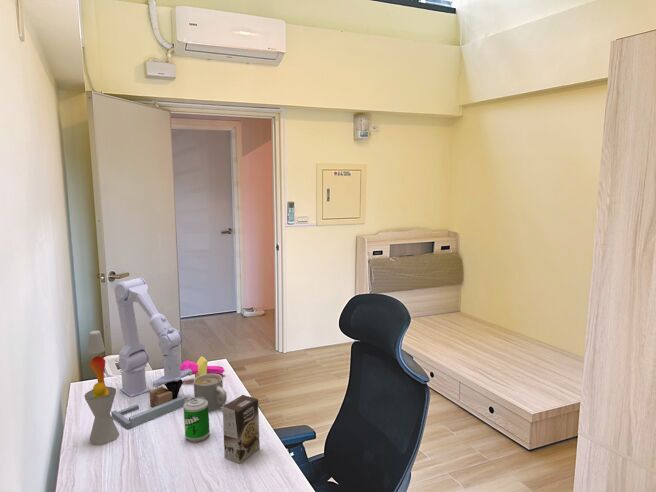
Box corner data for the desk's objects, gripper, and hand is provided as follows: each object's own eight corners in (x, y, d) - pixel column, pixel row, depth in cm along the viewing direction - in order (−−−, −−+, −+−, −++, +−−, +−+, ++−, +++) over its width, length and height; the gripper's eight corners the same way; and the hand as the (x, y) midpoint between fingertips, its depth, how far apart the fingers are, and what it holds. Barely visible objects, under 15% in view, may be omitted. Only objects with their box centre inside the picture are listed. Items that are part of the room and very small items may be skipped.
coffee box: (240, 464, 136) (237, 411, 134) (223, 457, 140) (221, 406, 137) (260, 448, 144) (259, 398, 141) (244, 442, 147) (242, 393, 145)
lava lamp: (90, 433, 154) (80, 329, 148) (120, 427, 157) (111, 325, 151) (87, 447, 145) (76, 338, 140) (119, 441, 148) (109, 334, 143)
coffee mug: (190, 405, 171) (188, 379, 169) (214, 396, 178) (213, 371, 176) (209, 418, 162) (207, 391, 160) (234, 408, 168) (232, 382, 167)
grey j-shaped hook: (111, 417, 163) (111, 409, 163) (167, 395, 179) (167, 388, 178) (127, 429, 155) (126, 420, 155) (184, 406, 171) (184, 398, 170)
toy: (226, 383, 191) (228, 356, 195) (181, 380, 182) (184, 352, 185) (216, 384, 199) (219, 359, 202) (173, 381, 190) (177, 355, 193)
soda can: (202, 427, 156) (200, 393, 154) (214, 436, 151) (212, 401, 149) (180, 436, 151) (178, 401, 149) (192, 446, 146) (190, 409, 144)
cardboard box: (150, 406, 171) (149, 388, 170) (163, 401, 174) (162, 383, 173) (160, 413, 166) (158, 394, 165) (173, 408, 170) (171, 389, 168)
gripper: (158, 373, 164) (161, 410, 166) (195, 361, 174) (197, 395, 176) (148, 368, 168) (151, 404, 170) (185, 356, 179) (187, 390, 181)
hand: (174, 399), depth 174 cm, fingers closed
